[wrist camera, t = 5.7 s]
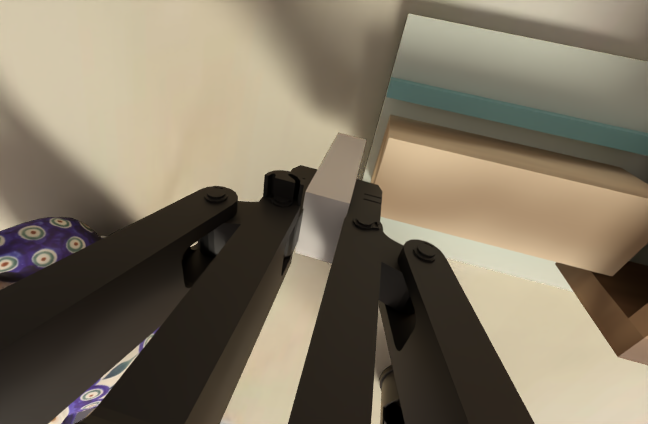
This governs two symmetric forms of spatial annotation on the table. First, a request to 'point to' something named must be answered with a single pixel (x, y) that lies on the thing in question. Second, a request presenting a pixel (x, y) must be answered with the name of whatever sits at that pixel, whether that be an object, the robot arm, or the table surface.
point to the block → (615, 306)
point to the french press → (390, 399)
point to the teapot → (39, 252)
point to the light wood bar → (511, 195)
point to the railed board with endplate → (515, 114)
